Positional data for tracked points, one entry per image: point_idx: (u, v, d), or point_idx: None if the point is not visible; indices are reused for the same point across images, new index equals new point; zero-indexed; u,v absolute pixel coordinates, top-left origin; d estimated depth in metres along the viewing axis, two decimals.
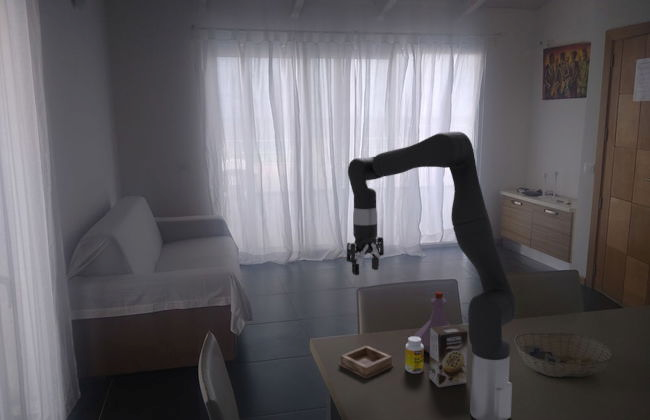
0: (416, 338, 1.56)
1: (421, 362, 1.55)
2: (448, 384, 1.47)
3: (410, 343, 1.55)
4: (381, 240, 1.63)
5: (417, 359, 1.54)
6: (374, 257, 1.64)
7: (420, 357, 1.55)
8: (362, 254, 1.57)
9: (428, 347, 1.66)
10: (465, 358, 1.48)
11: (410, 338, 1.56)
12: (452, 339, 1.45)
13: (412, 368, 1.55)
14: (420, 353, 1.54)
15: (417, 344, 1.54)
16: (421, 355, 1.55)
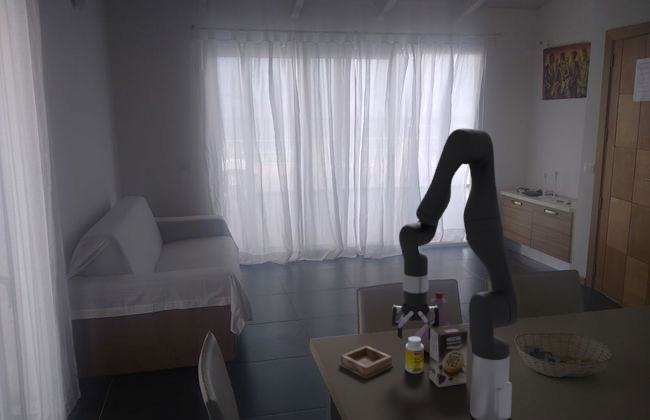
0: (416, 338, 1.56)
1: (421, 362, 1.55)
2: (448, 384, 1.47)
3: (410, 343, 1.55)
4: None
5: (417, 359, 1.54)
6: None
7: (420, 357, 1.55)
8: None
9: (428, 347, 1.66)
10: (465, 358, 1.48)
11: (410, 338, 1.56)
12: (452, 339, 1.45)
13: (412, 368, 1.55)
14: (420, 353, 1.54)
15: (417, 344, 1.54)
16: (421, 355, 1.55)
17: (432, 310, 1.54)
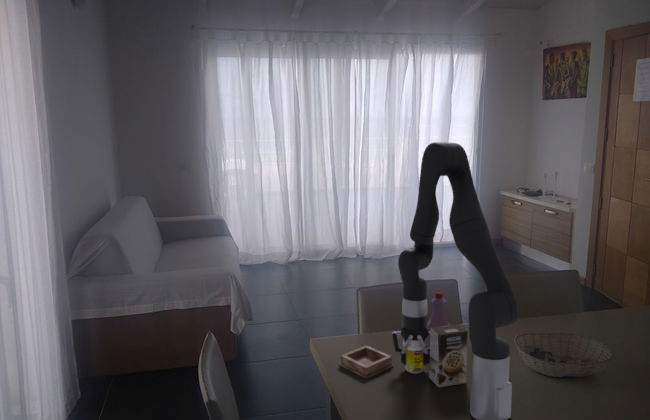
0: None
1: (421, 362, 1.55)
2: (448, 384, 1.47)
3: (410, 343, 1.55)
4: None
5: (417, 359, 1.54)
6: None
7: (420, 356, 1.55)
8: None
9: None
10: (465, 358, 1.48)
11: None
12: (452, 339, 1.45)
13: (412, 368, 1.55)
14: (420, 353, 1.54)
15: (417, 344, 1.54)
16: (421, 355, 1.55)
17: None
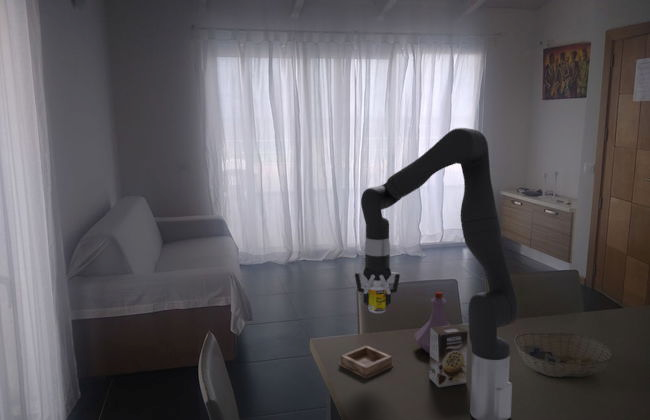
0: None
1: (383, 302, 1.56)
2: (448, 384, 1.47)
3: (372, 283, 1.55)
4: None
5: (379, 299, 1.55)
6: None
7: (382, 296, 1.55)
8: None
9: (428, 347, 1.66)
10: (465, 358, 1.48)
11: None
12: (452, 339, 1.45)
13: (374, 308, 1.56)
14: (382, 293, 1.55)
15: (379, 284, 1.55)
16: (383, 295, 1.55)
17: (393, 275, 1.55)
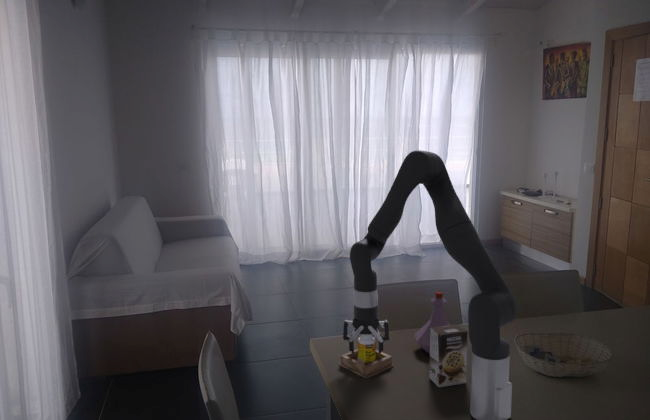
0: None
1: (373, 356, 1.58)
2: (448, 384, 1.47)
3: (362, 337, 1.58)
4: None
5: (369, 353, 1.58)
6: (353, 340, 1.60)
7: (371, 350, 1.58)
8: None
9: (428, 347, 1.66)
10: (465, 358, 1.48)
11: None
12: (452, 339, 1.45)
13: (363, 362, 1.58)
14: (371, 347, 1.58)
15: (368, 338, 1.58)
16: (372, 349, 1.58)
17: (382, 324, 1.58)
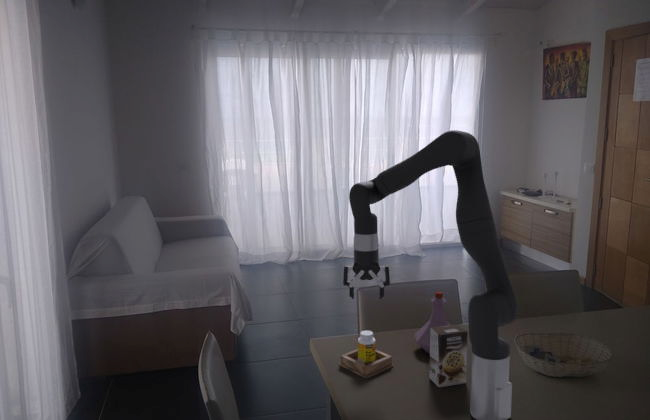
0: (368, 332, 1.60)
1: (373, 356, 1.58)
2: (448, 384, 1.47)
3: (362, 337, 1.58)
4: None
5: (369, 353, 1.58)
6: (353, 285, 1.57)
7: (371, 350, 1.58)
8: None
9: (428, 347, 1.66)
10: (465, 358, 1.48)
11: (362, 332, 1.60)
12: (452, 339, 1.45)
13: (363, 362, 1.58)
14: (371, 347, 1.58)
15: (368, 338, 1.58)
16: (372, 349, 1.58)
17: (383, 269, 1.55)
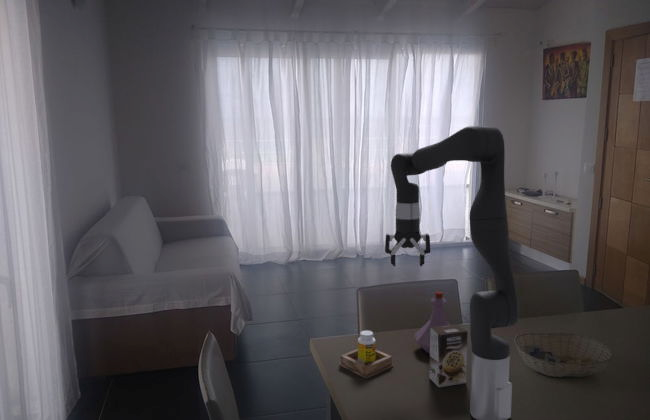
0: (368, 332, 1.60)
1: (373, 356, 1.58)
2: (448, 384, 1.47)
3: (362, 337, 1.58)
4: None
5: (369, 353, 1.58)
6: (394, 253, 1.64)
7: (371, 350, 1.58)
8: None
9: (428, 347, 1.66)
10: (465, 358, 1.48)
11: (362, 332, 1.60)
12: (452, 339, 1.45)
13: (363, 362, 1.58)
14: (372, 347, 1.58)
15: (368, 338, 1.58)
16: (372, 349, 1.58)
17: (423, 237, 1.62)
